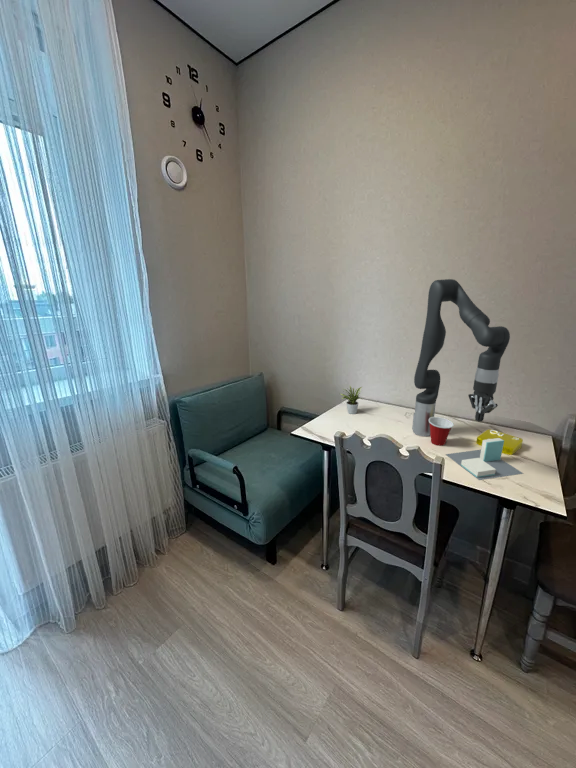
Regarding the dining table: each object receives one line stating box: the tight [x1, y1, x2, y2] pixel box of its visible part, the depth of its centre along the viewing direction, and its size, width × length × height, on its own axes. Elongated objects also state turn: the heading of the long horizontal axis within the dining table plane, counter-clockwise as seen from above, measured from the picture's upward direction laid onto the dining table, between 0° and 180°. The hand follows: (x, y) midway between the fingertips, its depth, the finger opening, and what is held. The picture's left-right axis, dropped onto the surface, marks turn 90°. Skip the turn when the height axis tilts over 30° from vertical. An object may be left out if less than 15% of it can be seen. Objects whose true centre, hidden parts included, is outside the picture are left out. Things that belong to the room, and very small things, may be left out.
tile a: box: [460, 458, 496, 479], centre depth 128 cm, size 2×8×9 cm
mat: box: [445, 449, 524, 481], centre depth 133 cm, size 20×20×1 cm
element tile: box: [475, 428, 524, 456], centre depth 148 cm, size 15×15×5 cm
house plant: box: [340, 386, 363, 415], centre depth 190 cm, size 14×14×16 cm
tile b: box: [480, 438, 504, 462], centre depth 135 cm, size 2×8×9 cm, turn 101°
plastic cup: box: [429, 416, 455, 447], centre depth 149 cm, size 11×11×12 cm
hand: (478, 420), depth 127 cm, fingers closed
